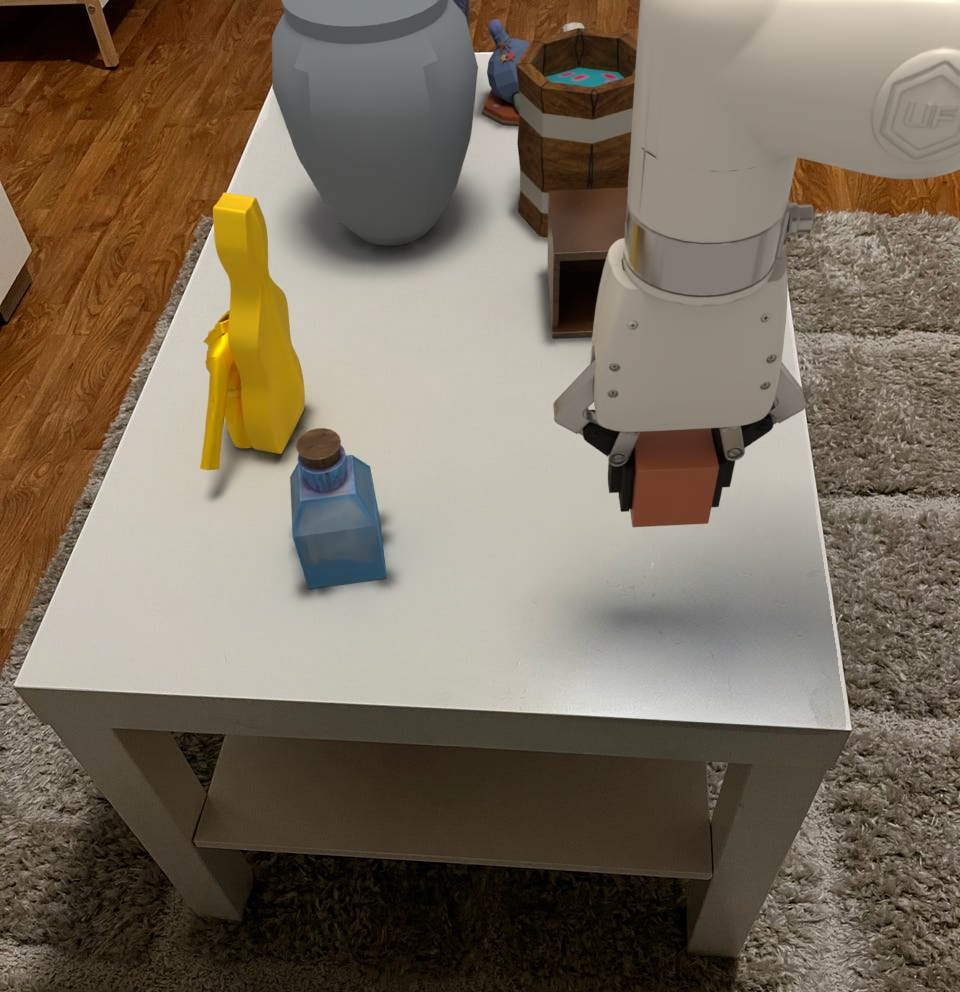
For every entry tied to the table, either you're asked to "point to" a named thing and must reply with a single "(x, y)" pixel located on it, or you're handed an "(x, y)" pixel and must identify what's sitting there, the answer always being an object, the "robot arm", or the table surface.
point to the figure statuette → (250, 342)
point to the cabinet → (580, 253)
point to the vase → (377, 107)
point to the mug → (574, 115)
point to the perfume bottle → (334, 513)
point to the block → (674, 477)
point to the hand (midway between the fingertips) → (666, 491)
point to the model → (503, 76)
